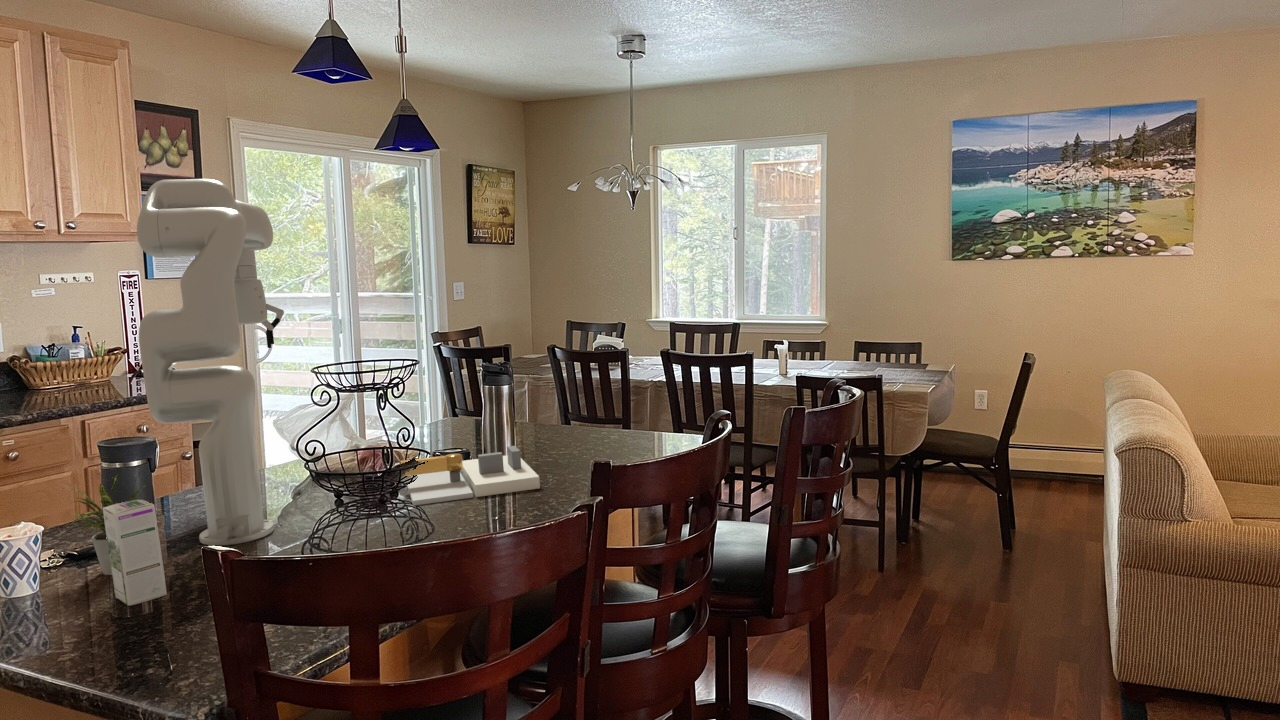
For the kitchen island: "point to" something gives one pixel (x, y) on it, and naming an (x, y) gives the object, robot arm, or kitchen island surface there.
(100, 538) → the house plant
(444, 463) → the latch bar
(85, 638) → the kitchen island surface
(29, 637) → the kitchen island surface
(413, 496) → the door mock-up
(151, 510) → the syrup box
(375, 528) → the kitchen island surface
